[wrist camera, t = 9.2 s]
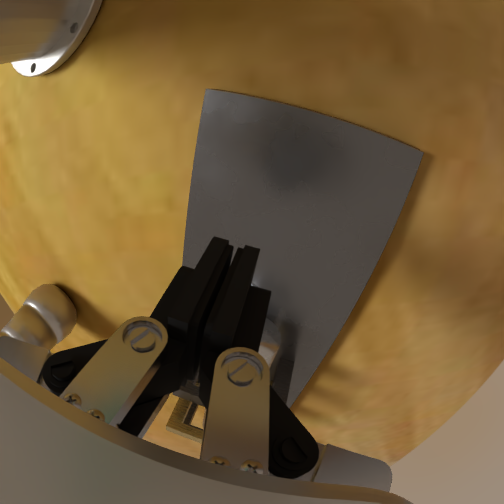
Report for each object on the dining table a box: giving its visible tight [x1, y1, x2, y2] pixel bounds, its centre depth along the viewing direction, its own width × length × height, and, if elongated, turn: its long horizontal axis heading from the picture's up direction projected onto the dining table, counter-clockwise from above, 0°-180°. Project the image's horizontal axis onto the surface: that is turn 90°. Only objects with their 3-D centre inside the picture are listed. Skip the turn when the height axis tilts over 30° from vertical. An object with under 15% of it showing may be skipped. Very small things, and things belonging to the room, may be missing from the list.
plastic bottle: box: [0, 284, 77, 350], centre depth 21 cm, size 6×7×20 cm
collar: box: [173, 358, 294, 407], centre depth 21 cm, size 1×8×6 cm, turn 78°
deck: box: [182, 89, 423, 408], centre depth 22 cm, size 31×12×1 cm, turn 168°
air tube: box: [203, 318, 281, 429], centre depth 23 cm, size 16×4×4 cm, turn 168°
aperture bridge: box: [166, 380, 273, 443], centre depth 22 cm, size 1×8×8 cm, turn 78°
